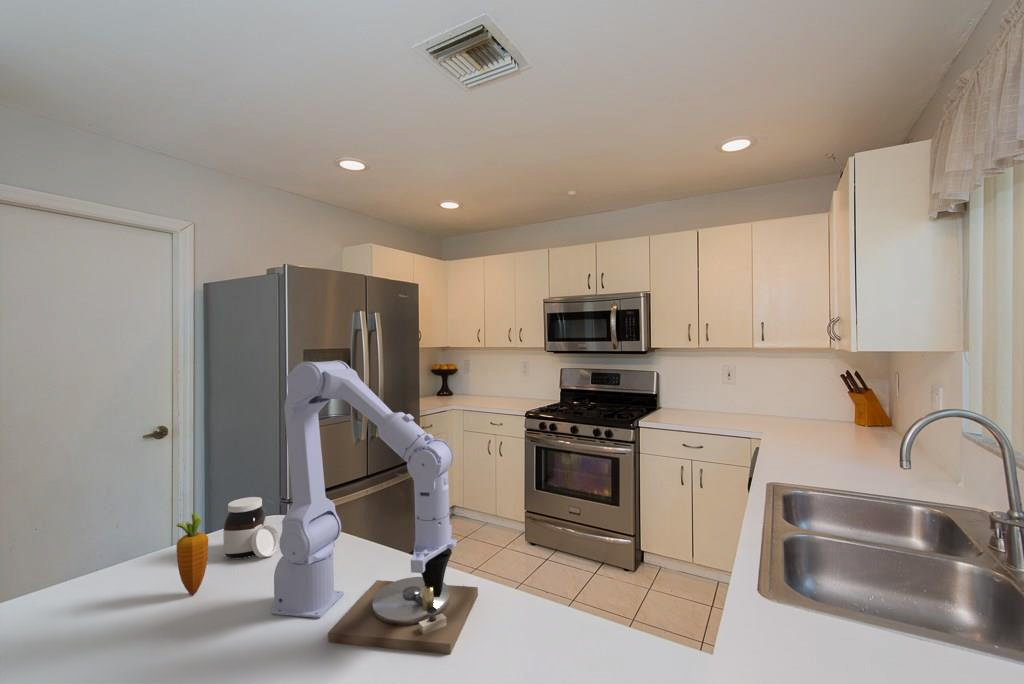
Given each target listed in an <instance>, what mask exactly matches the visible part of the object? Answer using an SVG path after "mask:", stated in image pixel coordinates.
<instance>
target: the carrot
mask: <svg viewBox="0 0 1024 684" xmlns="http://www.w3.org/2000/svg"><path fill="white" fill-rule="evenodd" d="M191 519H192V520H191V521H192V523H191V522H190V521H189V520H188V521H186V522H185V524H184V523H182V522H181V523H180V522H178V523H177V524H176V527H177V528H181V529H182V530H183V531H184V532H185V535H183V536H182V537H180V538H179V539H178V540H177V542H176V562H177V569H178V572H179V573H178V574H179V576H180V580H181V582H182V585H183V586H184V589H186V591H187V592H188V594H189V595H191V596H194V595H196V593H197V592H198V590H199V589H200V586H201V584H202V583H203V579H204V577H205V573H206V568H207V565H208V560H209V559H208V558H209V536H208V535H207V534H206V533H204V532H202V531H199V532H198V529H199V526H200V525H201V524H200V523H201V521H202V518H201V517H199V514H198V513H195V512H194V513H192V514H191Z"/></svg>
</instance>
